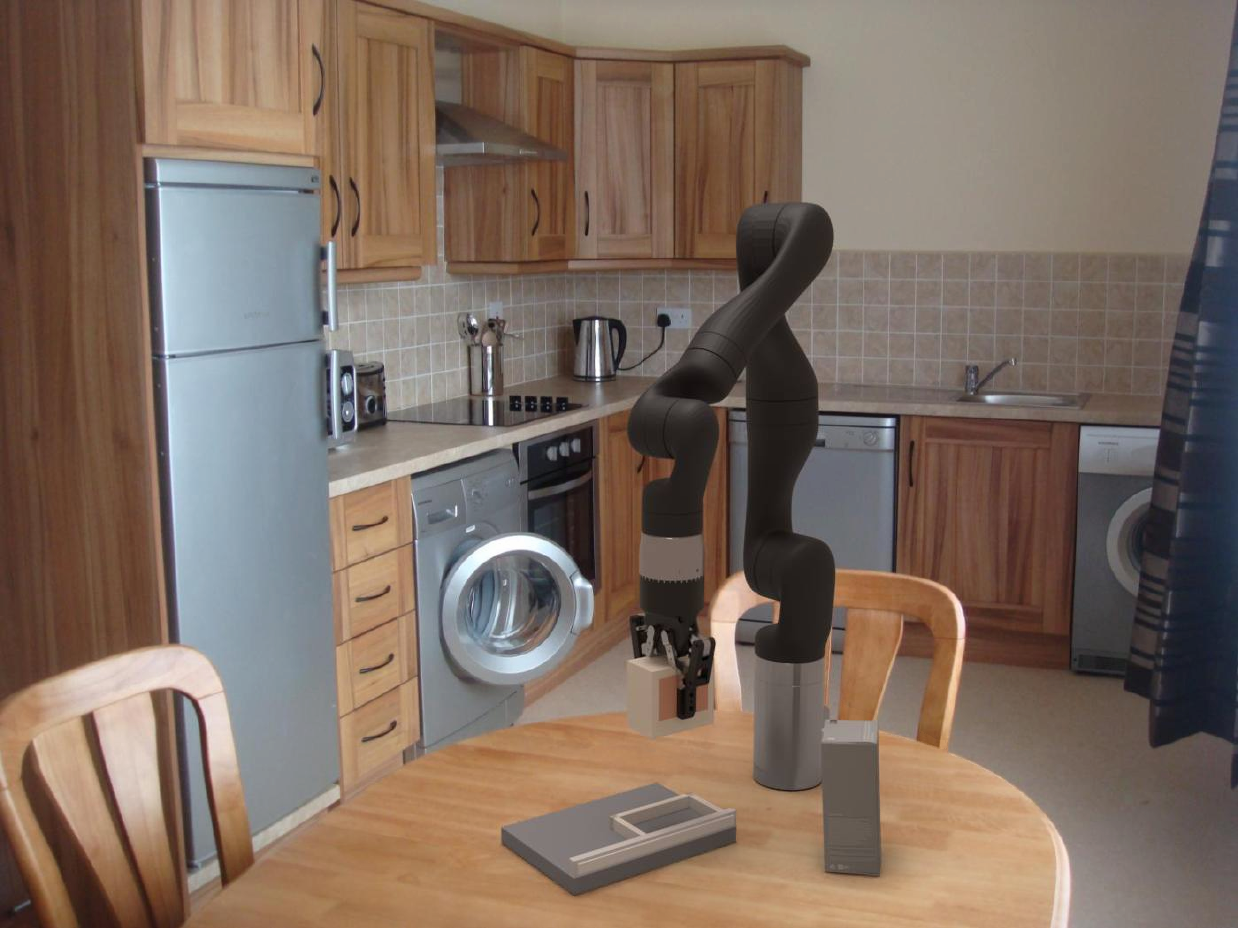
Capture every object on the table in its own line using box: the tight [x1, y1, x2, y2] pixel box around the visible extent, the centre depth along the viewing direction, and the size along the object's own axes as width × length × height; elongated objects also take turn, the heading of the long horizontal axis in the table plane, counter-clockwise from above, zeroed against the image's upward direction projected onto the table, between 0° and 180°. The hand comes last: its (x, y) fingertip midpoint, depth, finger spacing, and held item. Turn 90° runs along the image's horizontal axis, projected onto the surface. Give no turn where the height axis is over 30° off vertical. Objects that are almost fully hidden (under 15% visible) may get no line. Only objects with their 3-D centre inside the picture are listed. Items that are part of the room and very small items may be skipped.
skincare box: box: [821, 719, 882, 877], centre depth 157 cm, size 8×7×16 cm
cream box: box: [626, 654, 715, 740], centre depth 159 cm, size 9×5×8 cm, turn 125°
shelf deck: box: [500, 781, 737, 897], centre depth 162 cm, size 23×16×4 cm
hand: (670, 710), depth 159 cm, fingers closed on cream box, 5 cm apart
